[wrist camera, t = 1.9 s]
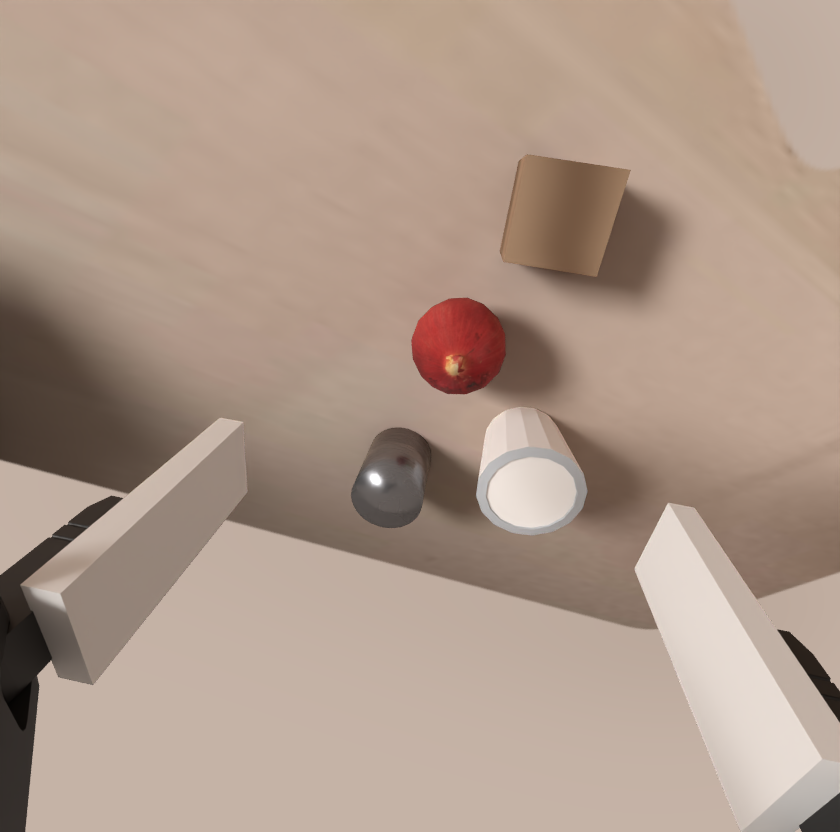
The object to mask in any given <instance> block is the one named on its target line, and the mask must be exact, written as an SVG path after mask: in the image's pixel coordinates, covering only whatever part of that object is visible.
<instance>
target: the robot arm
mask: <svg viewBox="0 0 840 832" xmlns="http://www.w3.org/2000/svg"><path fill="white" fill-rule="evenodd" d="M247 492H248V490H247V473H246V456H245V439H244V422H241V421H236V420H230V419H225V418H219V419H218V420H217V421H215V422H214V423H213V424H212V425H211V426H209V427H208V428H207V429H206V430H205V431H203V432H202V433H201V434H200V435H199V436H197V437H196V438H195V439H194V440H193V441H191V442H190V443H189V444H188V445H187V446H185V447H184V448H183V449H182V450H181V451H179V452H178V453H177V454H176V455H175V456H174V457H172V458H171V459H170V460H169V461H168V462H166V463H165V464H164V465H163V466H162V467H160V468H159V469H158V470H157V471H156V472H154V473H153V474H152V475H151V476H150V477H148V478H147V479H146V480H145V481H144V482H142V483H141V484H140V485H139V486H138V487H136V488H135V489H134V490H133V491H132V492H130V493H129V494H128V495H127V496H126V497H125V498H120V497H115V496H110V497H108V498H106V499H104V500H102V501H99V502H97V503H95V504H93V505H91V506H89V507H87V508H86V509H84V510H83V511H82V512H80V513H79V514H78V515H77V516H75V517H74V518H73V519H72V520H70V521H69V522H68V525H64V526H63V527H61V528H60V529H59V530H58V531H56V532H55V533H54V534H53V536H52V537H51V538H47V539H46V540H45V541H43V542H42V543H41V544H40V545H38V546H37V547H36V548H34V549H33V550H32V551H31V552H29V553H28V554H27V555H26V556H24V557H23V558H22V559H20V560H19V561H18V562H17V563H16V564H14V565H13V566H12V567H10V568H9V569H8V570H6V571H5V572H4V573H3V574H1V575H0V832H25V827H26V817H27V807H28V796H29V785H30V774H31V765H32V755H33V745H34V734H35V724H36V714H37V702H38V693H39V683H38V678H37V675H38V673H39V672H40V671H41V670H42V669H43V668H44V667H45V666H46V665H47V664H48V663H49V662H50V660H51V661H52V663H53V665H54V668H55V670H56V673H57V675H58V677H60V678H64V679H69V680H73V681H78V682H82V683H87V684H91V685H93V684H94V683H95V682H96V681H97V680H98V678H99V677H100V676H101V675H102V673H103V672H104V671H105V670H106V668H107V667H108V666H109V665H110V663H111V662H112V661H113V660H114V658H115V657H116V656H117V655H118V653H119V652H120V651H121V650H122V648H123V647H124V646H125V645H126V643H127V642H128V641H129V640H130V638H131V637H132V636H133V634H134V633H135V632H136V631H137V629H138V628H139V627H140V626H141V625H142V623H143V622H144V621H145V620H146V618H147V617H148V616H149V615H150V613H151V612H152V611H153V610H154V608H155V607H156V606H157V605H158V603H159V602H160V601H161V600H162V598H163V597H164V596H165V595H166V593H167V592H168V591H169V590H170V588H171V587H172V586H173V585H174V583H175V582H176V581H177V580H178V578H179V577H180V576H181V575H182V573H183V572H184V571H185V570H186V568H187V567H188V566H189V565H190V563H191V562H192V561H193V560H194V558H195V557H196V556H197V555H198V553H199V552H200V551H201V550H202V548H203V547H204V546H205V545H206V543H207V542H208V541H209V540H210V538H211V537H212V536H213V535H214V533H215V532H216V531H217V529H218V528H219V527H220V526H221V525H222V523H223V522H224V521H225V520H226V518H227V517H228V516H229V515H230V513H231V512H232V511H233V510H234V508H235V507H236V506H237V505H238V503H239V502H240V501H241V500H242V498H243V497H244V496H245V495H246V493H247ZM635 572H636V574H637V577H638V579H639V582H640V584H641V587H642V589H643V592H644V594H645V597H646V599H647V602H648V604H649V607H650V609H651V612H652V614H653V616H654V619H655V621H656V624H657V626H658V629H659V631H660V634H661V636H662V639H663V641H664V643H665V646H666V648H667V651H668V653H669V656H670V659H671V661H672V664H673V666H674V669H675V671H676V674H677V676H678V678H679V681H680V683H681V686H682V688H683V691H684V693H685V696H686V698H687V701H688V703H689V706H690V708H691V711H692V713H693V716H694V718H695V720H696V723H697V726H698V728H699V730H700V733H701V735H702V738H703V741H704V743H705V746H706V748H707V750H708V753H709V755H710V758H711V760H712V763H713V765H714V768H715V770H716V773H717V775H718V778H719V780H720V783H721V785H722V788H723V790H724V792H725V795H726V797H727V800H728V803H729V805H730V808H731V810H732V812H733V815H734V817H735V820H736V822H737V825H738V827H739V830H740V832H795V831H796V830H797V829H799V828H800V829H801V831H802V832H840V691H839V690H838V688H837V687H836V686H835V684H834V683H831V682H830V677H829V676H828V674H827V673H826V672H825V670H824V669H823V667H822V666H821V665H820V663H819V662H818V660H817V659H816V658H815V656H814V655H813V654H812V653H811V652H810V651H809V650H808V649H807V648H806V647H805V646H803V644H802V643H801V642H799V641H798V640H797V639H796V638H795V637H794V636H793V635H792V634H791V633H790V632H787V631H782V630H777V629H776V628H775V626H774V625H773V623H772V622H771V620H770V619H769V617H768V616H767V614H766V613H765V612H764V610H763V608H762V607H761V605H760V604H759V602H758V601H757V599H756V598H755V596H754V595H753V594H752V592H751V591H750V589H749V588H748V586H747V585H746V583H745V582H744V580H743V579H742V577H741V576H740V574H739V573H738V571H737V570H736V568H735V567H734V565H733V564H732V562H731V561H730V559H729V558H728V557H727V555H726V554H725V552H724V551H723V549H722V548H721V546H720V545H719V543H718V542H717V540H716V539H715V537H714V536H713V534H712V533H711V531H710V530H709V528H708V527H707V525H706V524H705V522H704V521H703V520H702V518H701V517H700V515H699V514H698V512H697V511H696V509H695V508H694V507H688V506H683V505H678V504H673V503H668V504H667V506H666V508H665V510H664V512H663V514H662V516H661V518H660V520H659V522H658V524H657V526H656V528H655V530H654V531H653V533H652V535H651V537H650V539H649V541H648V543H647V545H646V547H645V549H644V551H643V553H642V555H641V557H640V559H639V561H638V563H637V565H636V567H635Z"/></svg>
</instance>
